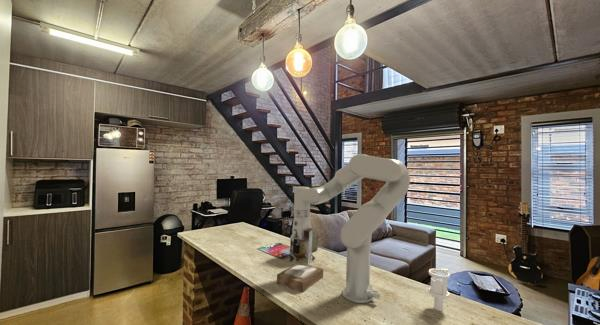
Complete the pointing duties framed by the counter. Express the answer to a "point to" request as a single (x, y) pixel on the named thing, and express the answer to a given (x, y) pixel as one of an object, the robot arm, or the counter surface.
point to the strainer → (439, 287)
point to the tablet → (277, 250)
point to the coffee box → (302, 249)
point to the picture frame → (300, 277)
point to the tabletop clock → (314, 241)
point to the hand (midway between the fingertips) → (301, 250)
